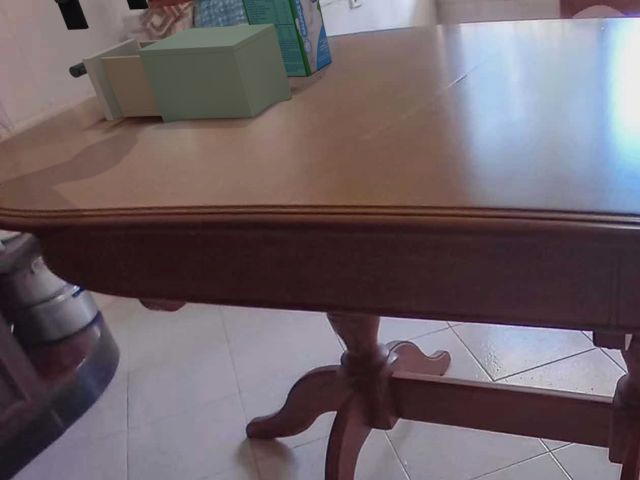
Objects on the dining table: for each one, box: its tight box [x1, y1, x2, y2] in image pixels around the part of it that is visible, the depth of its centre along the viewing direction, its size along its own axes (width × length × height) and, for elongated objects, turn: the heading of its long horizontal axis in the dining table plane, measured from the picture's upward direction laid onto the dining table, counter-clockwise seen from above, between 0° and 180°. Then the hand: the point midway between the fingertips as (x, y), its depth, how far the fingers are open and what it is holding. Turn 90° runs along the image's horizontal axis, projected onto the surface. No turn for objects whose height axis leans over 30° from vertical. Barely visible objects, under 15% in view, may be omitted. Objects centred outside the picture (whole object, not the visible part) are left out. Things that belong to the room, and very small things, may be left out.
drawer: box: [68, 38, 162, 122], centre depth 106 cm, size 18×11×9 cm, turn 78°
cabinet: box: [138, 24, 293, 124], centre depth 103 cm, size 15×13×11 cm
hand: (110, 18), depth 98 cm, fingers open, 13 cm apart
